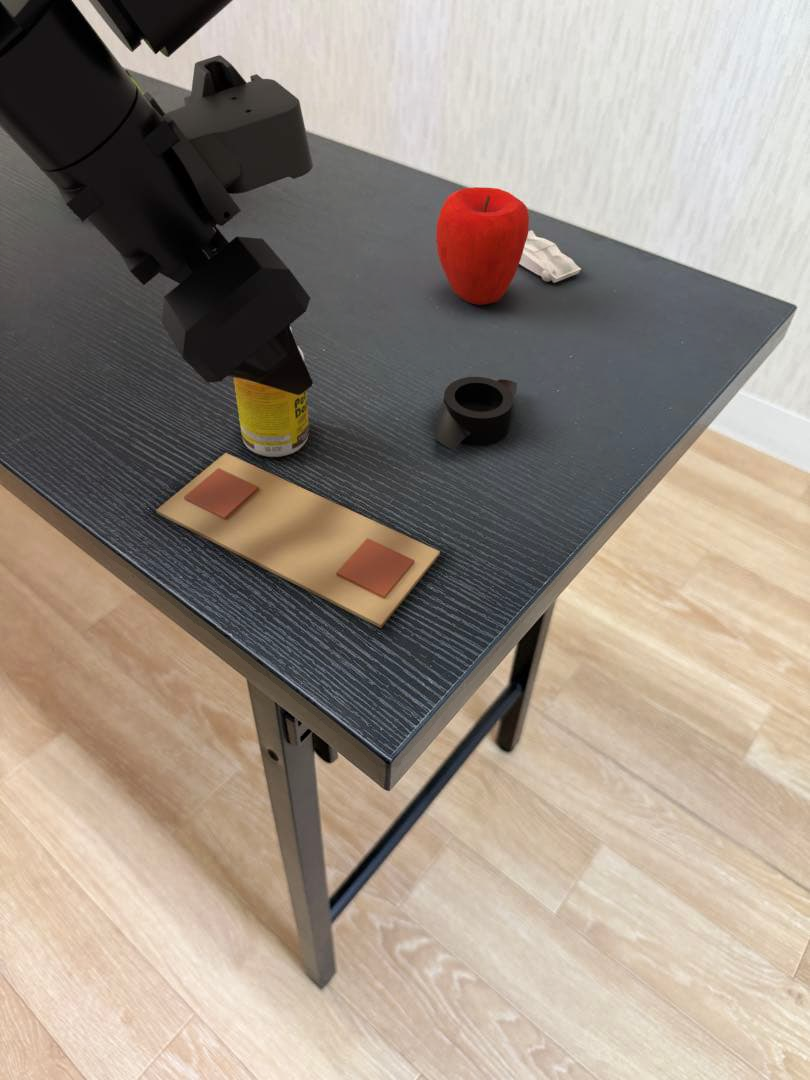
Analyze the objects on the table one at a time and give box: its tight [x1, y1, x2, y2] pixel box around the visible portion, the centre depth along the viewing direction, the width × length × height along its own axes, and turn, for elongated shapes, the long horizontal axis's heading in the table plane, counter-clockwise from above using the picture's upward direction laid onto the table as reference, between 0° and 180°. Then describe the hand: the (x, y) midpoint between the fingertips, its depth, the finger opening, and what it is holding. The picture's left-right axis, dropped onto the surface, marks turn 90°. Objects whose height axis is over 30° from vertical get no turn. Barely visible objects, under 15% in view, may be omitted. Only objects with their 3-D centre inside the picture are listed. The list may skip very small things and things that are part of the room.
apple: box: [435, 186, 530, 306], centre depth 80 cm, size 9×9×11 cm
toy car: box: [519, 229, 582, 284], centre depth 88 cm, size 5×8×2 cm, turn 38°
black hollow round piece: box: [433, 376, 518, 452], centre depth 68 cm, size 8×10×3 cm
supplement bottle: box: [233, 326, 310, 458], centre depth 63 cm, size 6×6×10 cm
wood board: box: [155, 452, 441, 629], centre depth 59 cm, size 20×8×1 cm, turn 59°
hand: (275, 348), depth 48 cm, fingers open, 9 cm apart
